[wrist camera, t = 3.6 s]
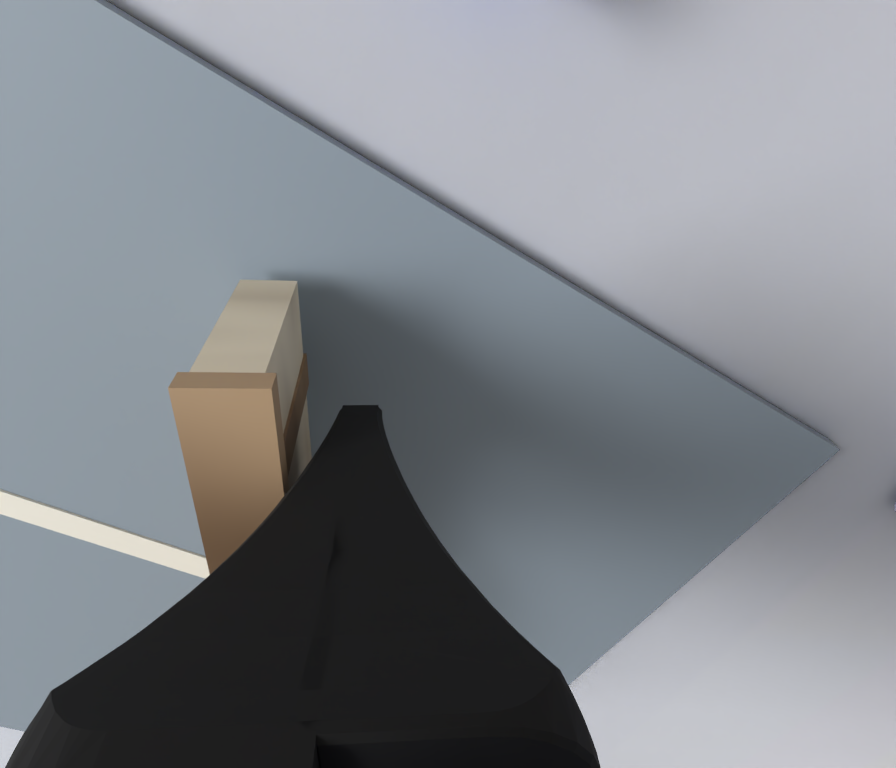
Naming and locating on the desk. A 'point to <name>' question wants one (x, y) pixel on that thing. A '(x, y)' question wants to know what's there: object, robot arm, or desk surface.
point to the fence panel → (244, 414)
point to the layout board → (317, 363)
